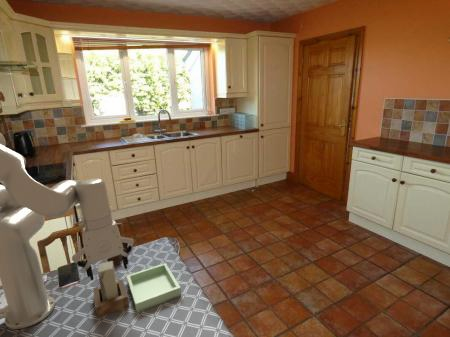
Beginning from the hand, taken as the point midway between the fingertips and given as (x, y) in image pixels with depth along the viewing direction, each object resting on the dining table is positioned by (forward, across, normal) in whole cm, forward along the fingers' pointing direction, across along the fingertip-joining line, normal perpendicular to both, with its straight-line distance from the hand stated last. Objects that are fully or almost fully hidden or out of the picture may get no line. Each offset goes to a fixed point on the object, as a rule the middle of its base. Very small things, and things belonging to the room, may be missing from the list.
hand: (109, 272), depth 85 cm
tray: (+11, +12, -1) cm, 16 cm away
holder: (+10, -1, 0) cm, 11 cm away
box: (+11, -1, 0) cm, 11 cm away
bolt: (+11, +7, +28) cm, 31 cm away
